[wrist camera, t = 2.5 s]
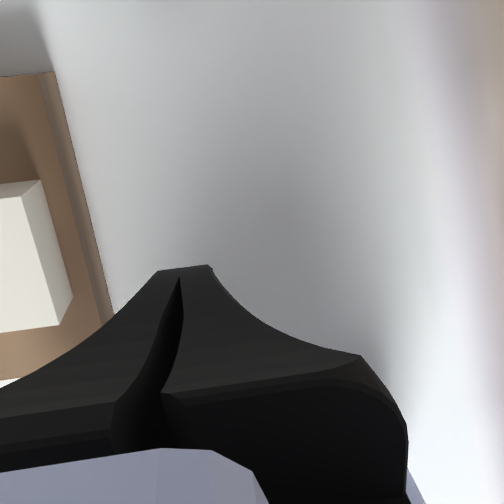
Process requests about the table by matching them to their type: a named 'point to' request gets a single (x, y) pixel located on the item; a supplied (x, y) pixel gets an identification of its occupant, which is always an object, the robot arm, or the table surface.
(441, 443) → the table surface
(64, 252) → the board
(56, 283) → the tile
